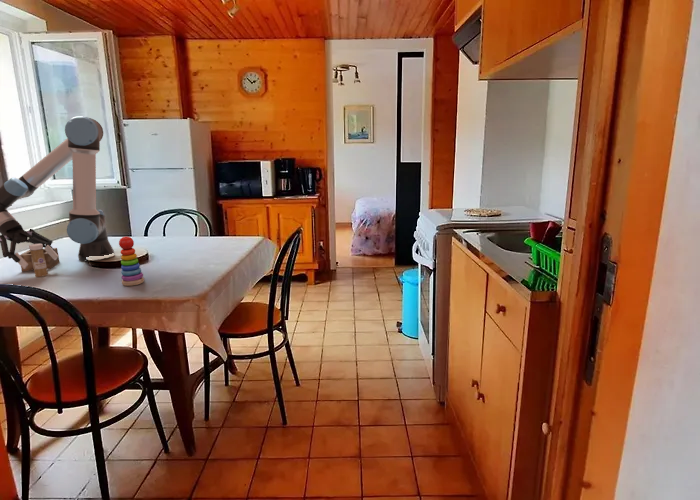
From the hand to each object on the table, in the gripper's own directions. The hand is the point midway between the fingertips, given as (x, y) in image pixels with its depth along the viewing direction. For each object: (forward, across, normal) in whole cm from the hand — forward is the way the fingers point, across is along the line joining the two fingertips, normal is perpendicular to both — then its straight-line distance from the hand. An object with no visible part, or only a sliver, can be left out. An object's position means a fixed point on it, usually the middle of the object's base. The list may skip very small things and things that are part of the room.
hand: (42, 262), depth 182 cm
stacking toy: (+36, 0, +27) cm, 45 cm away
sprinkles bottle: (+3, 0, -6) cm, 6 cm away
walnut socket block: (-6, -11, -15) cm, 19 cm away
